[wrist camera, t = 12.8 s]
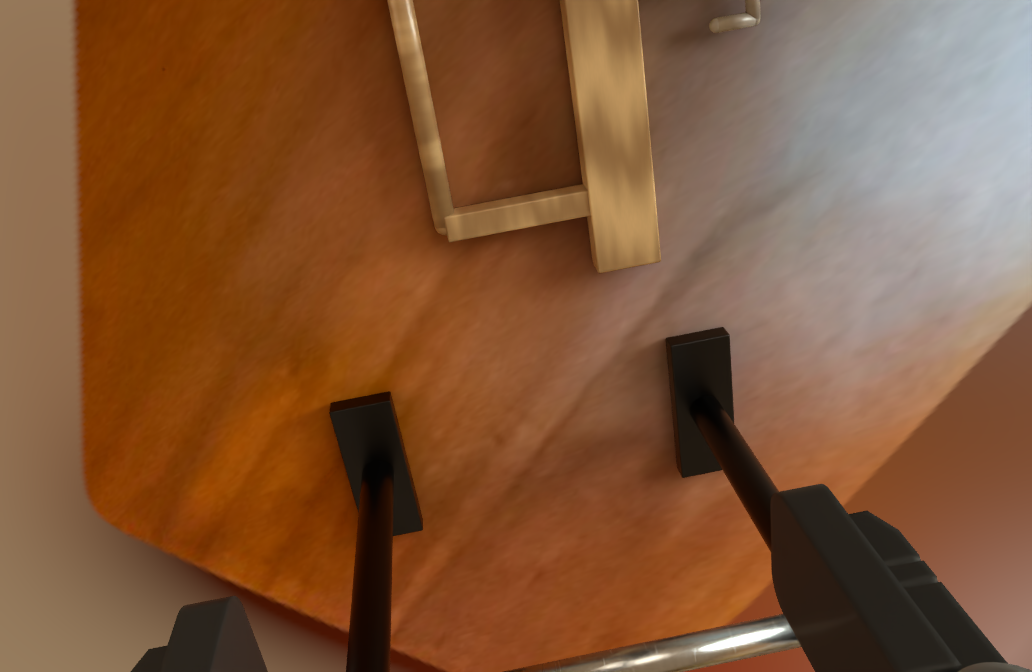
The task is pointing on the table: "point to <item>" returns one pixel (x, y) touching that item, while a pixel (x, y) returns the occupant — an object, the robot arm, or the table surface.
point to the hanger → (599, 127)
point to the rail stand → (699, 449)
